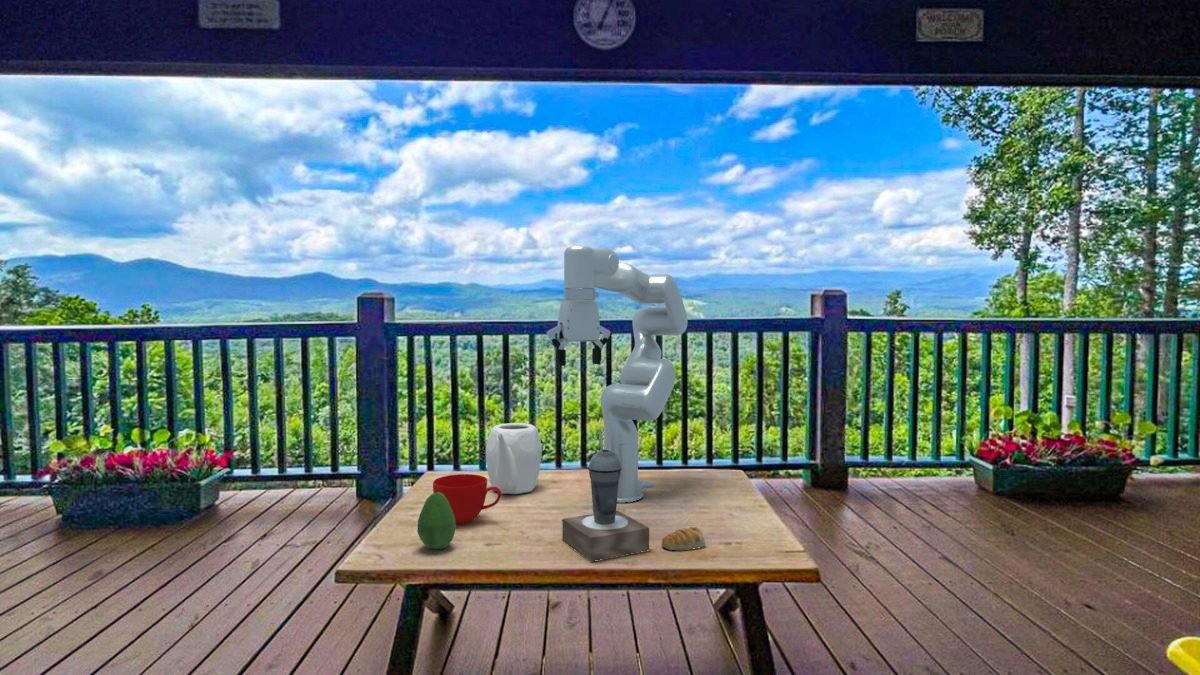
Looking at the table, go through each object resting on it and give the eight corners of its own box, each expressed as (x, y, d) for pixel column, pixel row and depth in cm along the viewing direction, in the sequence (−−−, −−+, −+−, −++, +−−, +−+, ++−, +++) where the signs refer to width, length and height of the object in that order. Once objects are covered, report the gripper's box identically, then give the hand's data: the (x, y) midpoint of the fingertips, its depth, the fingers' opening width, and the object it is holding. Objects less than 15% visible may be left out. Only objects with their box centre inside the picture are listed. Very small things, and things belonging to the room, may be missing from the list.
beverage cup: (618, 527, 133) (618, 433, 132) (584, 525, 134) (585, 432, 134) (623, 517, 140) (624, 427, 139) (591, 515, 141) (592, 426, 141)
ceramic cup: (491, 532, 146) (491, 489, 145) (423, 527, 149) (423, 485, 148) (509, 515, 158) (509, 476, 158) (446, 511, 161) (446, 472, 161)
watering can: (471, 503, 169) (471, 433, 168) (500, 479, 195) (500, 418, 195) (527, 506, 167) (527, 435, 166) (549, 481, 193) (549, 419, 193)
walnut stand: (617, 531, 146) (617, 508, 146) (649, 551, 134) (649, 526, 134) (562, 541, 140) (562, 516, 140) (590, 562, 128) (590, 536, 127)
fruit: (444, 539, 141) (444, 486, 140) (462, 548, 135) (462, 493, 135) (411, 547, 135) (411, 492, 135) (428, 558, 130) (428, 500, 129)
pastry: (672, 555, 132) (672, 537, 132) (654, 545, 138) (654, 528, 138) (708, 548, 137) (708, 530, 137) (689, 539, 143) (689, 522, 143)
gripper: (602, 297, 164) (602, 362, 165) (541, 296, 156) (541, 365, 156) (616, 296, 157) (616, 364, 158) (553, 295, 149) (553, 367, 150)
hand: (579, 364), depth 157 cm, fingers open, 9 cm apart
